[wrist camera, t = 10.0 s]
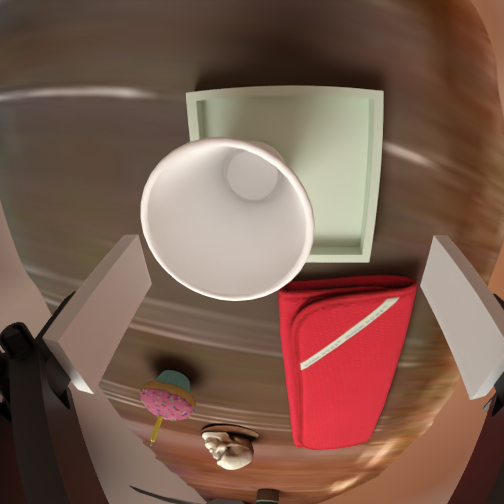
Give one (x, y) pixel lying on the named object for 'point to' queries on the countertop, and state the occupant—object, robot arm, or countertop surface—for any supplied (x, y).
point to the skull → (229, 445)
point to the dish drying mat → (341, 354)
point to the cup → (227, 218)
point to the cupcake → (168, 398)
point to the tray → (310, 151)
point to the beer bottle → (267, 496)
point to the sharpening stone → (224, 501)
